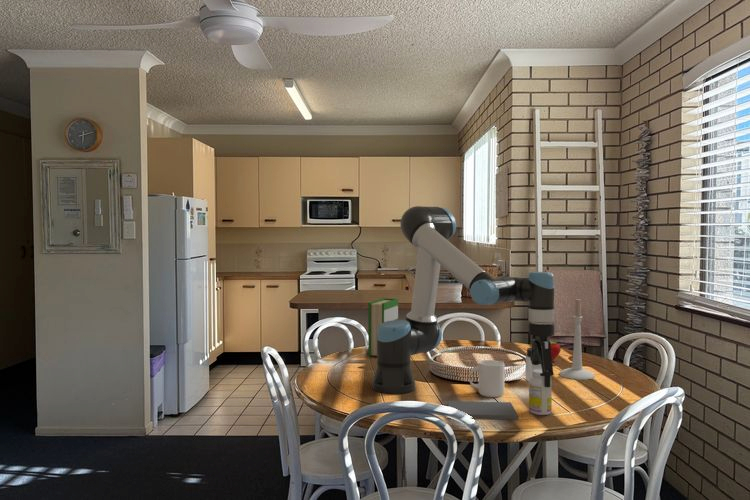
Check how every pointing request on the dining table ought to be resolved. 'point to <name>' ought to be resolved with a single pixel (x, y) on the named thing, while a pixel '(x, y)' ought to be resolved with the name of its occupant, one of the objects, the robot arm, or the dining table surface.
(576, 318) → the candlestick
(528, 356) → the jar
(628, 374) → the dining table surface
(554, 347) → the strawberry
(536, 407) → the supplement bottle
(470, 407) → the mat
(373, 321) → the hardback book
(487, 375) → the mug
